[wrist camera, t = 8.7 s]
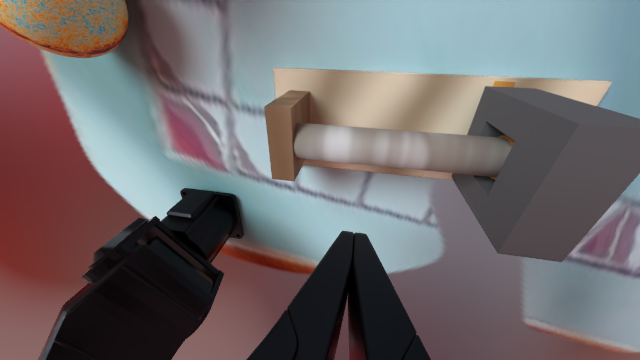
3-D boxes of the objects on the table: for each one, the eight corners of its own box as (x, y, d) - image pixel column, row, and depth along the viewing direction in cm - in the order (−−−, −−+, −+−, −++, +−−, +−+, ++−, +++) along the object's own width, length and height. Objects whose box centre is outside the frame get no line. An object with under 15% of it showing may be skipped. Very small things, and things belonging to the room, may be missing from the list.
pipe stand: (603, 80, 15) (722, 101, 10) (538, 185, 19) (598, 236, 14) (275, 67, 18) (240, 78, 13) (282, 159, 22) (258, 194, 17)
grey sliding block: (535, 88, 15) (677, 130, 8) (490, 180, 18) (561, 262, 12) (485, 86, 15) (579, 123, 8) (451, 176, 19) (497, 253, 12)
